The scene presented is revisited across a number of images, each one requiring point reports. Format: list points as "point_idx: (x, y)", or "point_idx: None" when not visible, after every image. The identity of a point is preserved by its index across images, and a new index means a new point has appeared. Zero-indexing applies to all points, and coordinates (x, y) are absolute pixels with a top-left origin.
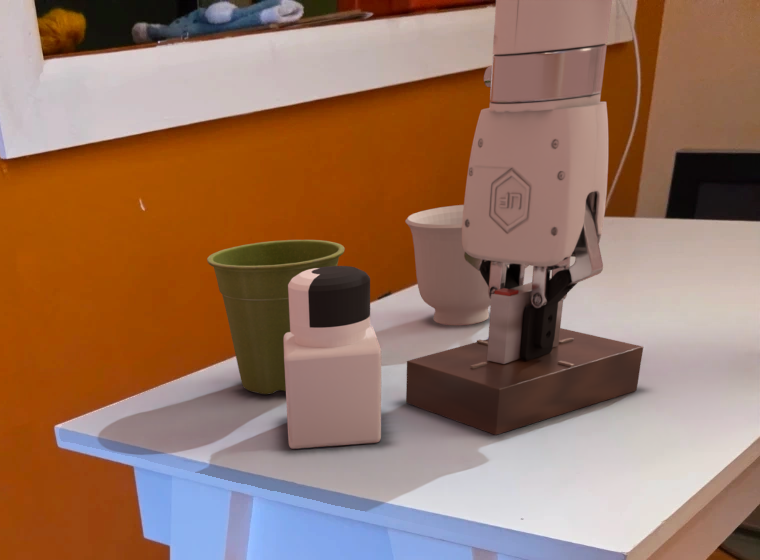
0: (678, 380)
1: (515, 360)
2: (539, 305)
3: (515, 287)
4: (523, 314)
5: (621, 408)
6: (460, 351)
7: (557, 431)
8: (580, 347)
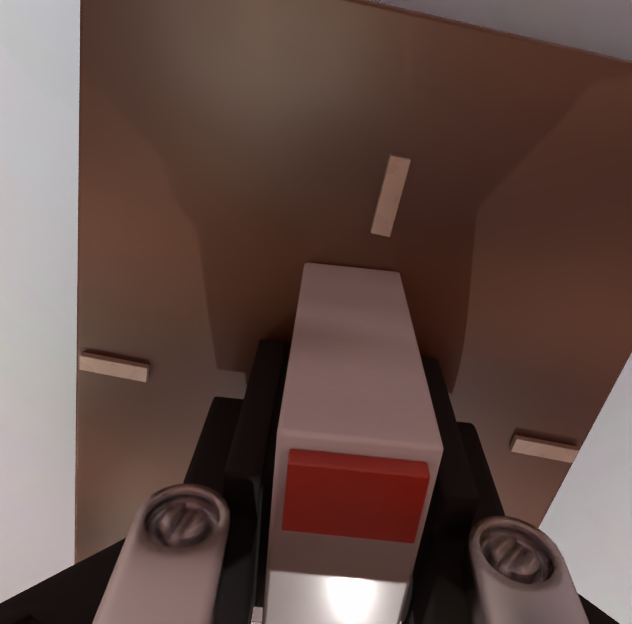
0: None
1: None
2: (181, 500)
3: (394, 608)
4: None
5: (55, 382)
6: (578, 330)
7: (37, 130)
8: None
